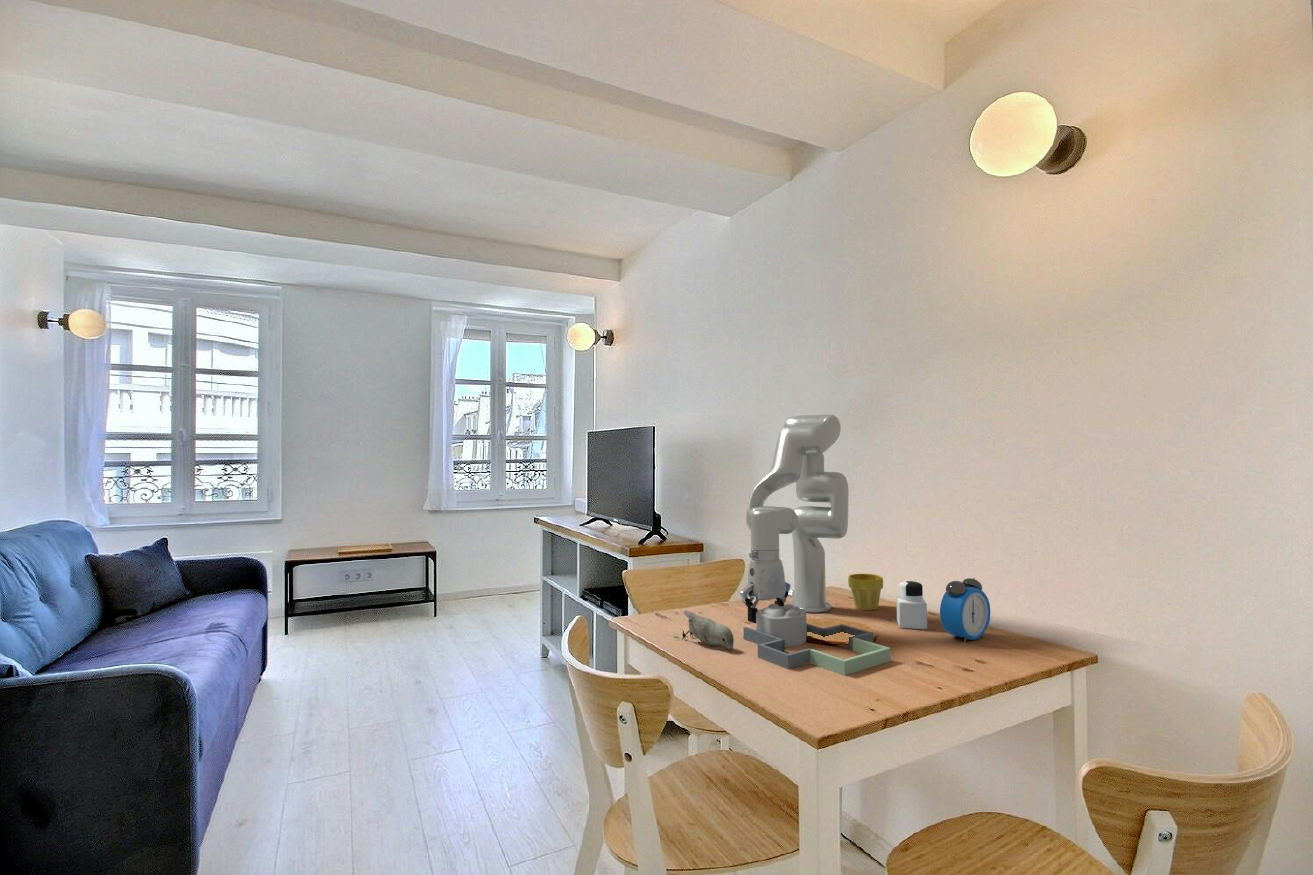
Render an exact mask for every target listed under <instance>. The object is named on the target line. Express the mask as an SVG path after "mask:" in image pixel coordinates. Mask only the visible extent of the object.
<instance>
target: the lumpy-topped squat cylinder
mask: <svg viewBox="0 0 1313 875" xmlns="http://www.w3.org/2000/svg"><path fill="white" fill-rule="evenodd" d="M806 623H807V612H806V611H805V610H803V609H800V608H799V607H797V606H793V605H791V604H790V603H786V604H784V606H783V607H782V606H780V607H779V605H777V604H774V603H770V604H769V605H768V606H767V607H764V608H762V609H757V612H756V623H755V625H756V626H755V630H758V631H761V632H764V633H767V634H769V635H772V636H775V637H778V638H781V639H784V640H785V648H789V647H790V648H791V647H796V646H801V645H804V643H806V642H807V641H806V636H807V625H806ZM807 637H808V636H807Z"/></svg>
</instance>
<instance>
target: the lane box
mask: <svg viewBox="0 0 1313 875" xmlns="http://www.w3.org/2000/svg"><path fill="white" fill-rule="evenodd" d="M806 625H807V632H812V633H814V634H818V635H821V636H823V637H825V636H829V635H833V634H836V633H840V632H844V633H848V634H851V635H855V636H853V637H849V645H837V647H840V648H842V649H846V650H849V651H852V652H856V653H859V654H858V655H855V656H851V657H847V658H840V657H838V656H834V655H831V654H829V653H825V652H824V651H821V650H820V651H819V650H816V649H814V648H811V647H808V648H804V649H800V650H797V651H796V650H795V651H793V652H789V651H786V647H785V640H784V639H781V638H778V637H775V636H772V635H769V634H767V633H764V632H761V631H758V630H756V628H751V627H748V626H744V627H743V639H744V640H745V641H749V642H752V643H754V644H757V658H759V659H761V660H764V661H767V662H769V663H771V664H775V665H777V666H779V667H781V668H784V669H787V670H790V669H793V668H796V667H797V668H798V667H801V666H804V665H807V664H812V665H815V666H817V667H819V668H823V669H826V670H829V671H831V672H833V673H837V674H839V675H842V676H848V675H850V674H853V673H857V672H860V671H864V670H867V669H869V668H873V667H876V666H879V665H883V664H885V663H889V662H891V661H892V659H891V656H892V655H891V653H892V652H891V647H888V646H885V645H881V644H878V643H875V641H874V639H875V637H874V636H875V635H874V632H872V631H868V630H865V629H861V628H858V627H853V626H852V625H851V626H850V625H846V624H843V623H840V624H836V625H831V626H829V627H825V628H823V627H820V626H817V625H814V624H810V623H807V622H806Z"/></svg>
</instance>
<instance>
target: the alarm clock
mask: <svg viewBox="0 0 1313 875" xmlns="http://www.w3.org/2000/svg"><path fill="white" fill-rule="evenodd" d="M939 617H940V618H939V619H940V623H941V626H942V628H943V629H944V630H945V632H946V633H947V634H949V635H952V636H955V637H959V638H962V639H964V641H963V642H964V643H966V642H967V640H970V641H976V640H978V639H980V638H982V639H983V635H984V634H985V633H986V631H987V629H988V627H989V625H990V621H991V604H990V600H989V598H988V596H987V595H986V592H985V591H983V585H982V583H981V582H980V581H979V580H978V579H975V577H973V578H972V577H971V578H969V577H967V578H965V579H963V580H962V581H959V580H952V581H950V582H948V583H947V584H946V587H945V593H944V594H943V596H942V598H941V601H940V607H939Z"/></svg>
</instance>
